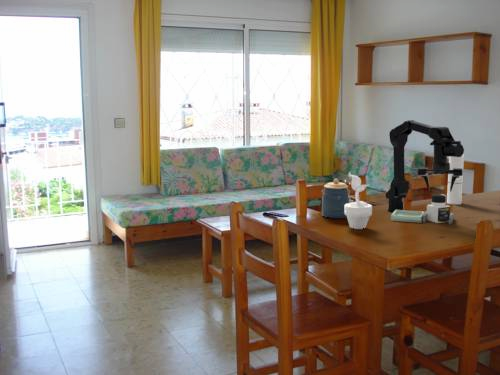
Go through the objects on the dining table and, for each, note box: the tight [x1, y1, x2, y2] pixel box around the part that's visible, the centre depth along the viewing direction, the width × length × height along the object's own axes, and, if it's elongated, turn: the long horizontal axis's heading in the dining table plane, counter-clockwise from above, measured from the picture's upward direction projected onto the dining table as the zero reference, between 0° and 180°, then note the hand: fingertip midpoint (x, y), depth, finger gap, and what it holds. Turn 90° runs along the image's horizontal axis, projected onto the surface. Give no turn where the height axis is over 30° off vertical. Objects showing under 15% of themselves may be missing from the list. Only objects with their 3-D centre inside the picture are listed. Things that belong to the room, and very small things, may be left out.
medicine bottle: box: [426, 193, 451, 224], centre depth 264 cm, size 7×7×12 cm
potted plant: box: [344, 172, 373, 230], centre depth 250 cm, size 13×12×25 cm
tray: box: [390, 210, 425, 224], centre depth 269 cm, size 13×13×2 cm
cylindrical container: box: [446, 154, 465, 205], centre depth 303 cm, size 7×7×25 cm
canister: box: [321, 178, 351, 219], centre depth 275 cm, size 13×13×18 cm
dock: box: [422, 210, 454, 225], centre depth 265 cm, size 12×11×3 cm
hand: (439, 191), depth 263 cm, fingers open, 9 cm apart
